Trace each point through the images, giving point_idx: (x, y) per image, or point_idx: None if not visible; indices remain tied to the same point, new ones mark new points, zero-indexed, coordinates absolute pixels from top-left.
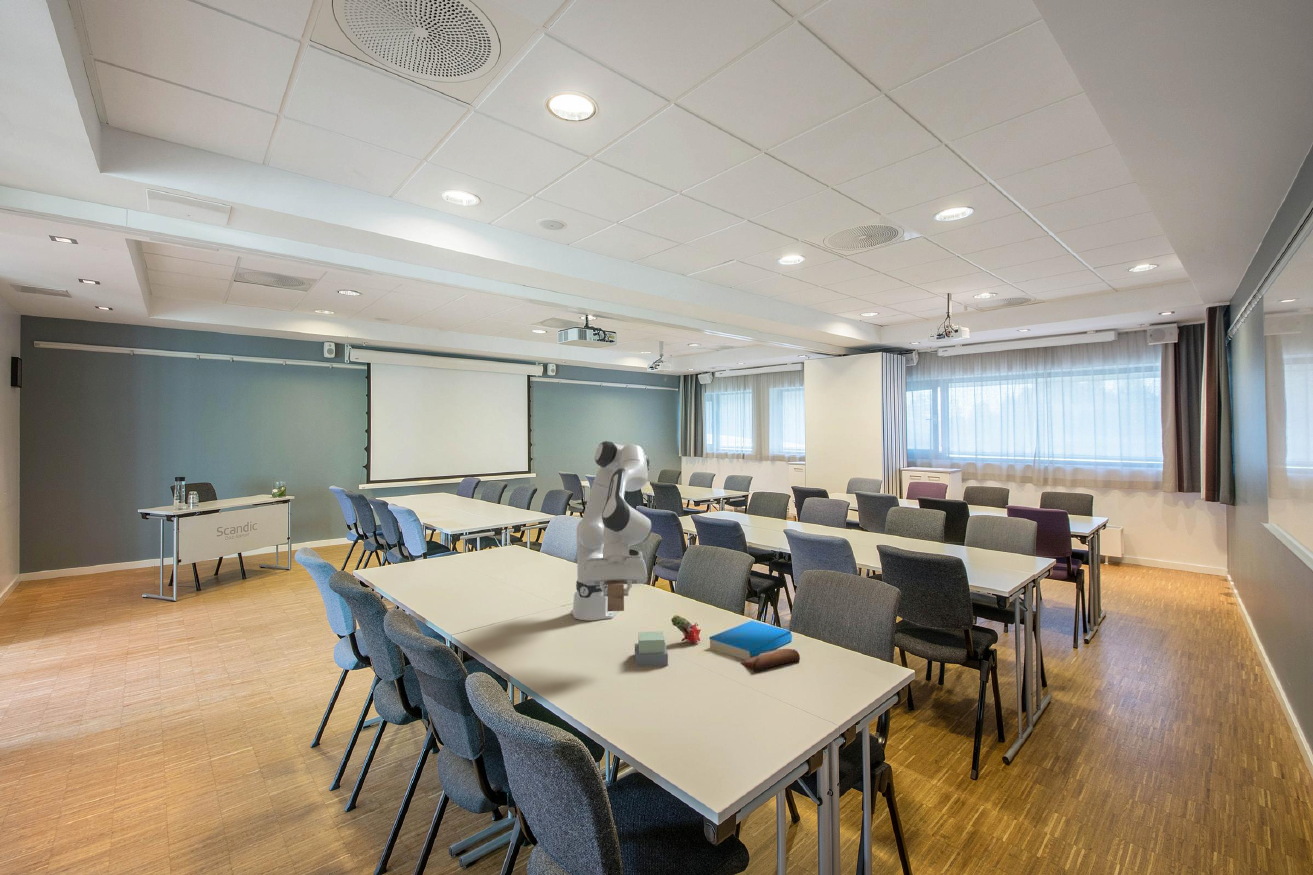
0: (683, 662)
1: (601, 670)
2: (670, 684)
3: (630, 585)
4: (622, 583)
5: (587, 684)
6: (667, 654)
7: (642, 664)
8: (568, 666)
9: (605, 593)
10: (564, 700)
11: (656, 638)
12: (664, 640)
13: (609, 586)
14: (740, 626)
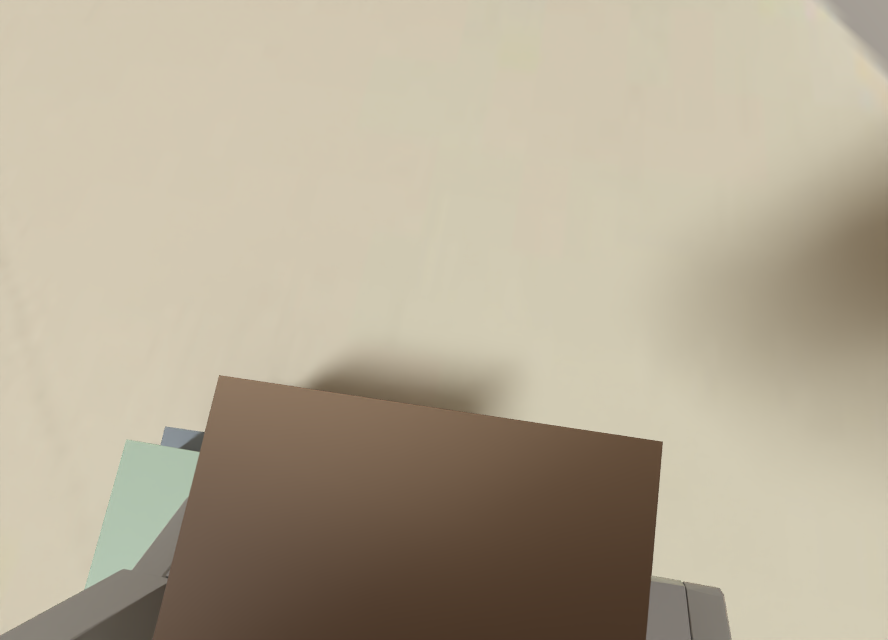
0: (105, 456)
1: None
2: (270, 191)
3: (35, 626)
4: (206, 544)
5: (713, 261)
6: (170, 427)
7: None
8: (862, 573)
9: (666, 585)
10: (839, 97)
11: (172, 487)
12: (129, 440)
13: (595, 432)
14: None
